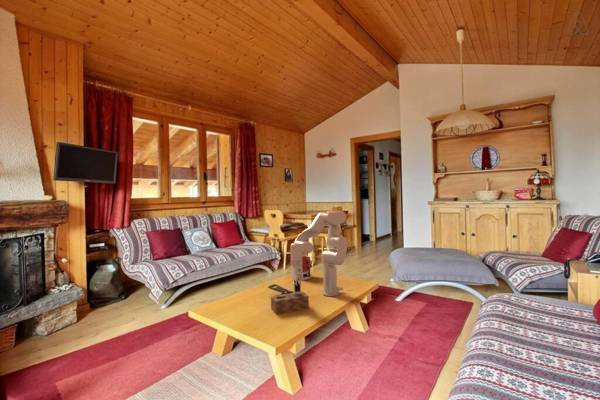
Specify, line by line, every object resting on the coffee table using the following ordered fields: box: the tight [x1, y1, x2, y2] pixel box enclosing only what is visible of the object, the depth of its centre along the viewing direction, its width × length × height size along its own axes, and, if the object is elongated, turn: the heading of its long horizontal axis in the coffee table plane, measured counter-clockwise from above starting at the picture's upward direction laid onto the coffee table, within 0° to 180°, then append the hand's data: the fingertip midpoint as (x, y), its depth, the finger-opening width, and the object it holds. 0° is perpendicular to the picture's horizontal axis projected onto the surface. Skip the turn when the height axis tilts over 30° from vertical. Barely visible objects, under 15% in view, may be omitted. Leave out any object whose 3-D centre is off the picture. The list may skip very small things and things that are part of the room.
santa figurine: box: [302, 253, 313, 281], centre depth 262 cm, size 17×14×25 cm
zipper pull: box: [268, 283, 293, 295], centre depth 215 cm, size 9×7×25 cm
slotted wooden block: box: [270, 290, 310, 315], centre depth 194 cm, size 22×10×8 cm, turn 111°
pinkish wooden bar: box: [292, 282, 302, 296], centre depth 195 cm, size 4×2×12 cm, turn 111°
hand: (296, 290), depth 195 cm, fingers closed on pinkish wooden bar, 2 cm apart
